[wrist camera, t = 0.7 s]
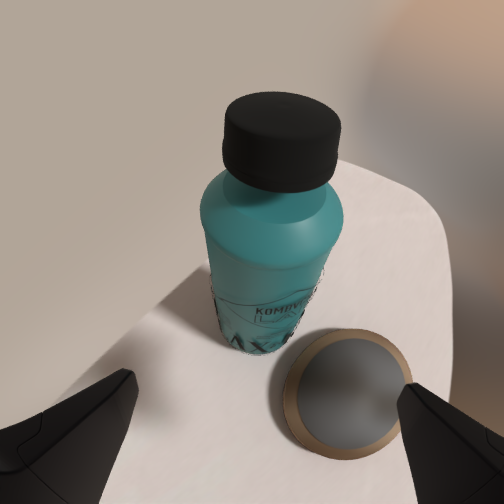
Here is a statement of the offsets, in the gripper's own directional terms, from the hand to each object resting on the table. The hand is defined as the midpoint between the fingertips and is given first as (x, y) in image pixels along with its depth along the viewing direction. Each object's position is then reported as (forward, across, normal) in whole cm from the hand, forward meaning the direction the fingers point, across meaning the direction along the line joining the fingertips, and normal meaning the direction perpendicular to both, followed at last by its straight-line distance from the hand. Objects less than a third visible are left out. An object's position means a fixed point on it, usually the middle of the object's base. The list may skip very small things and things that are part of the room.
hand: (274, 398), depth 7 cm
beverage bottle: (+16, 0, +7) cm, 17 cm away
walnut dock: (+10, -8, +11) cm, 17 cm away
